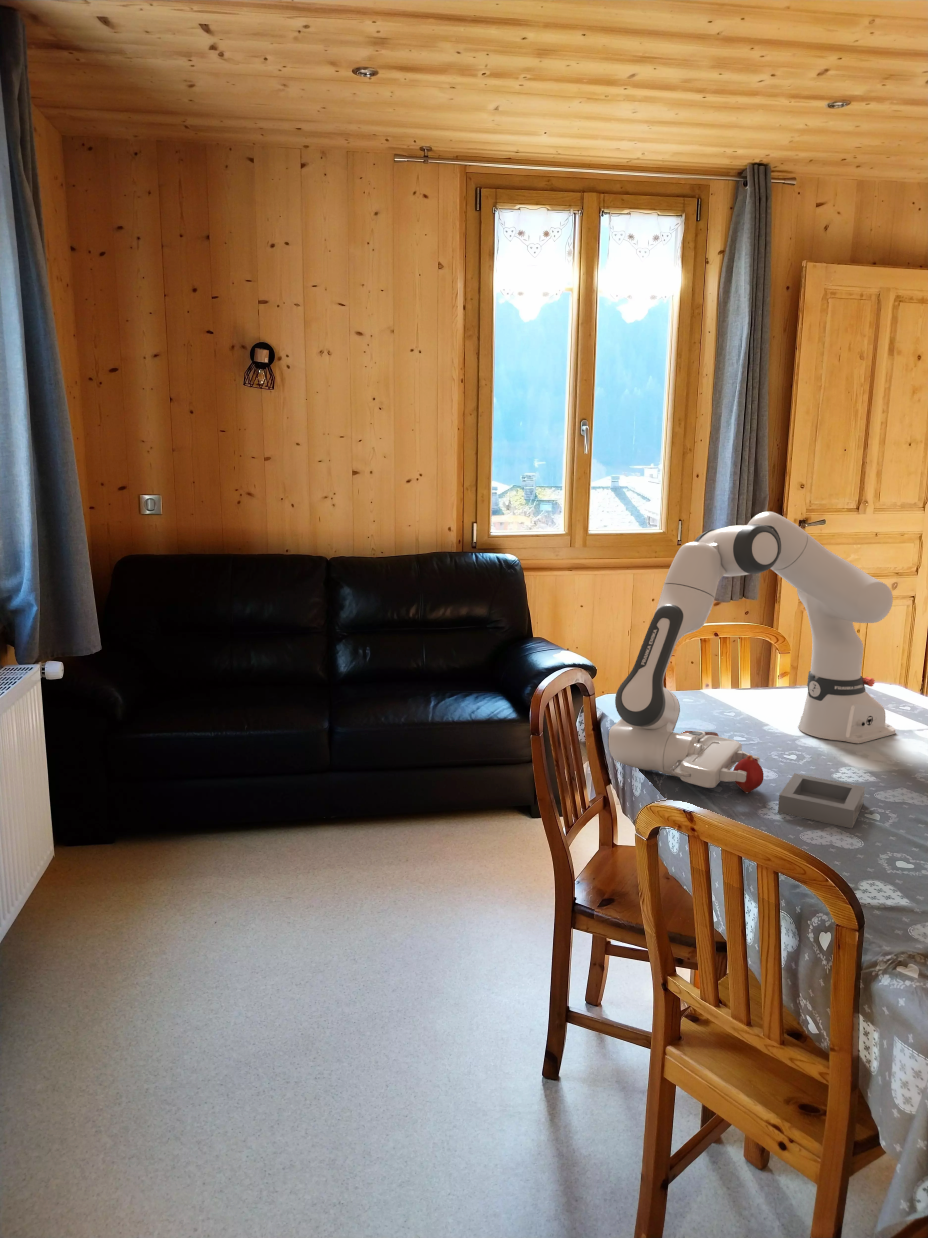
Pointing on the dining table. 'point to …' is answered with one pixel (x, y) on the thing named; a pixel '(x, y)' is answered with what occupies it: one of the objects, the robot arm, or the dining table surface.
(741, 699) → the dining table surface
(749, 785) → the red round fruit
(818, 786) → the holder
